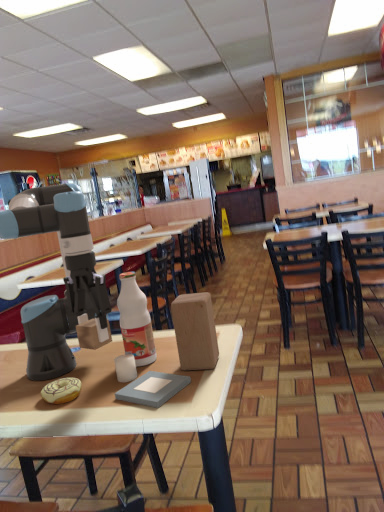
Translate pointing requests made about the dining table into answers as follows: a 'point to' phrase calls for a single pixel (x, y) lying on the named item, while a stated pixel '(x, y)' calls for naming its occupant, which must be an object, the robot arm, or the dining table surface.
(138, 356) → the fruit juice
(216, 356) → the wooden block
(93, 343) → the walnut cube
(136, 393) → the slate board
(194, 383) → the dining table surface
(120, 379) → the marshmallow
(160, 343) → the dining table surface
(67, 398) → the decorated donut
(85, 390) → the dining table surface
